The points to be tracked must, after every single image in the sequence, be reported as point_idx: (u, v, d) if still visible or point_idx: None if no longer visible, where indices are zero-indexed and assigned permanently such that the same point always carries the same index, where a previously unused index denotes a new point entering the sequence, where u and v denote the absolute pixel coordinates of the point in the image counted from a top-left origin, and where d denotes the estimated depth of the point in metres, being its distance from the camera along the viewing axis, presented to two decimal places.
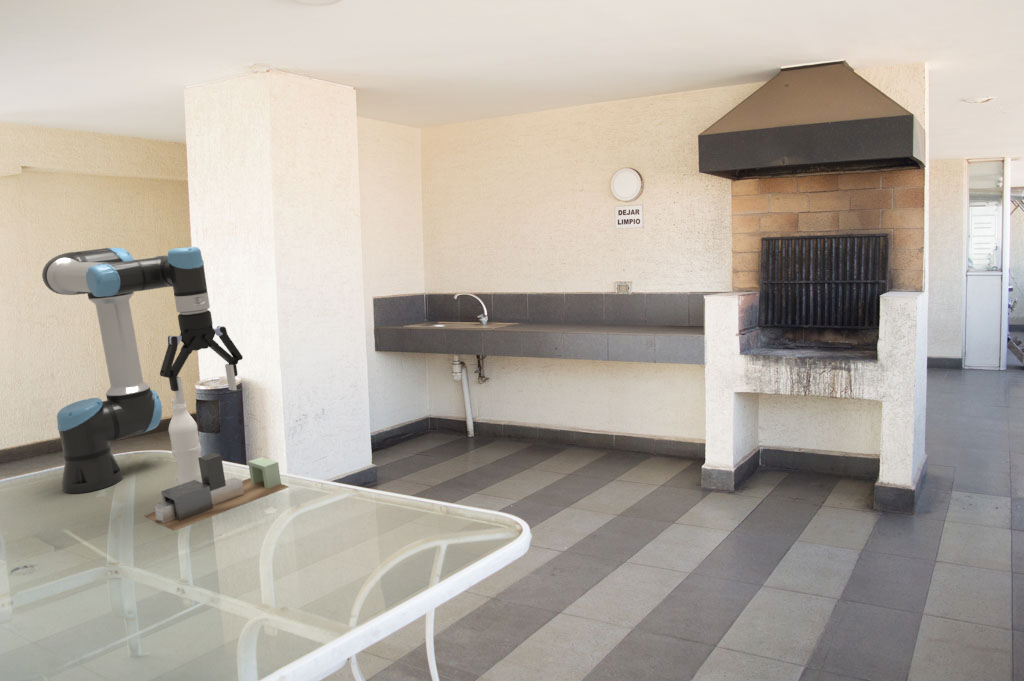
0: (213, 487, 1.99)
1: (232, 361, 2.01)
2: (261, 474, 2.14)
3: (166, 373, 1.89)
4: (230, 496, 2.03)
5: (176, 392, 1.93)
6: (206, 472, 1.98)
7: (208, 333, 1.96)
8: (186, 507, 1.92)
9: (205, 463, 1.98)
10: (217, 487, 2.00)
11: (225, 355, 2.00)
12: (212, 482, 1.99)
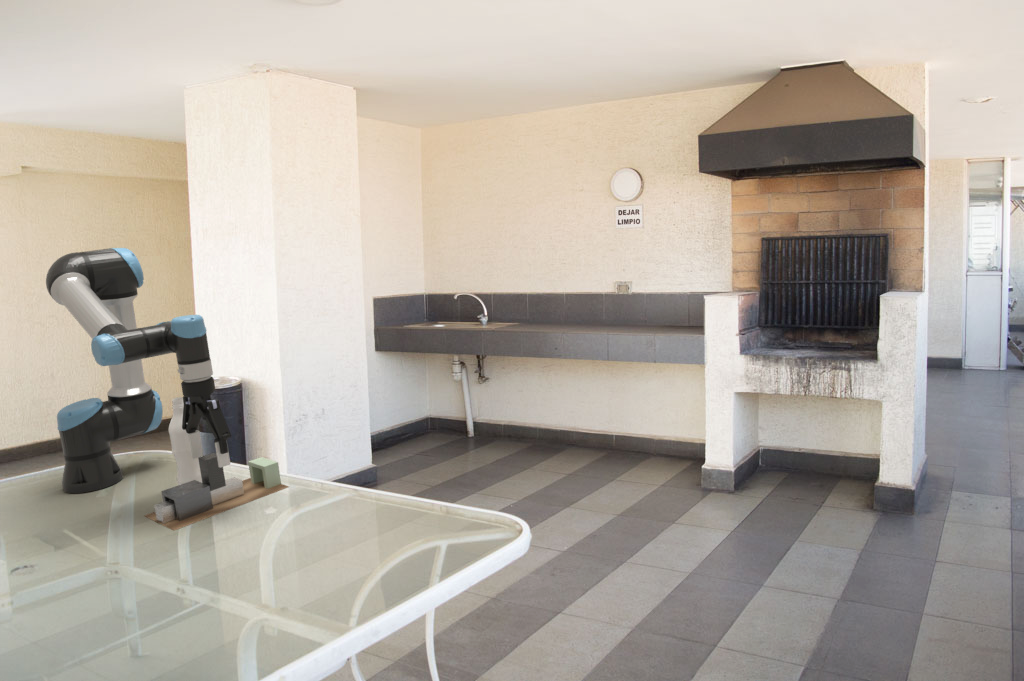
0: (213, 487, 1.99)
1: (216, 438, 1.93)
2: (261, 474, 2.14)
3: (182, 426, 2.04)
4: (230, 496, 2.03)
5: None
6: (206, 472, 1.98)
7: (201, 403, 1.95)
8: (186, 507, 1.92)
9: (205, 463, 1.98)
10: (217, 487, 2.00)
11: (211, 430, 1.94)
12: (212, 482, 1.99)
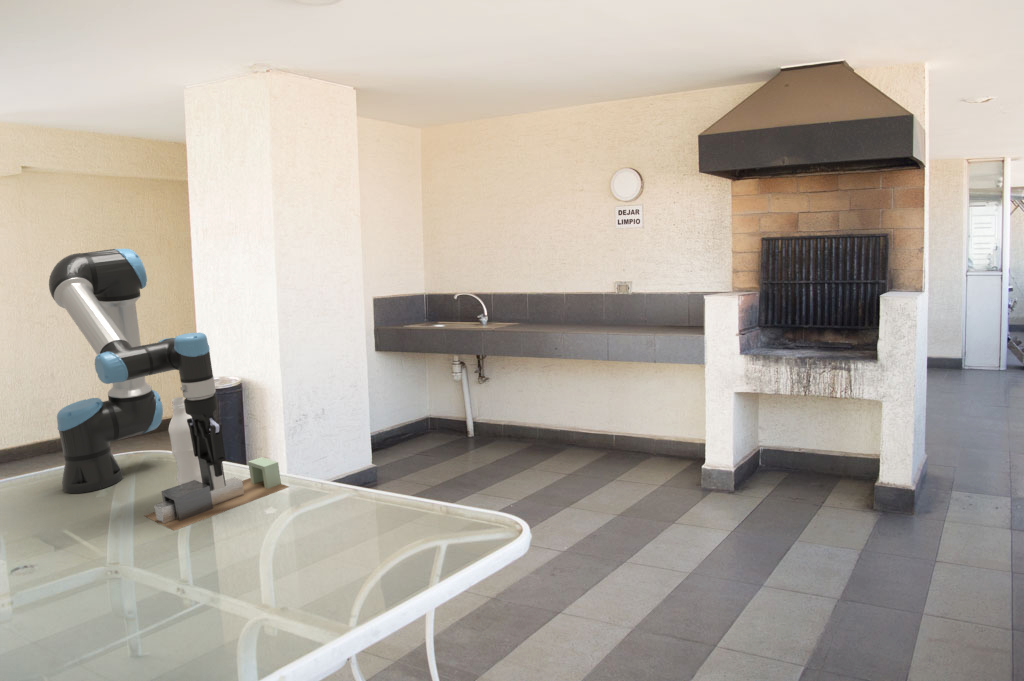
0: None
1: (211, 460, 1.97)
2: (261, 474, 2.14)
3: (194, 453, 2.03)
4: (230, 496, 2.03)
5: None
6: (206, 472, 1.98)
7: (203, 419, 1.96)
8: (186, 507, 1.92)
9: (205, 463, 1.98)
10: None
11: (208, 451, 1.97)
12: None
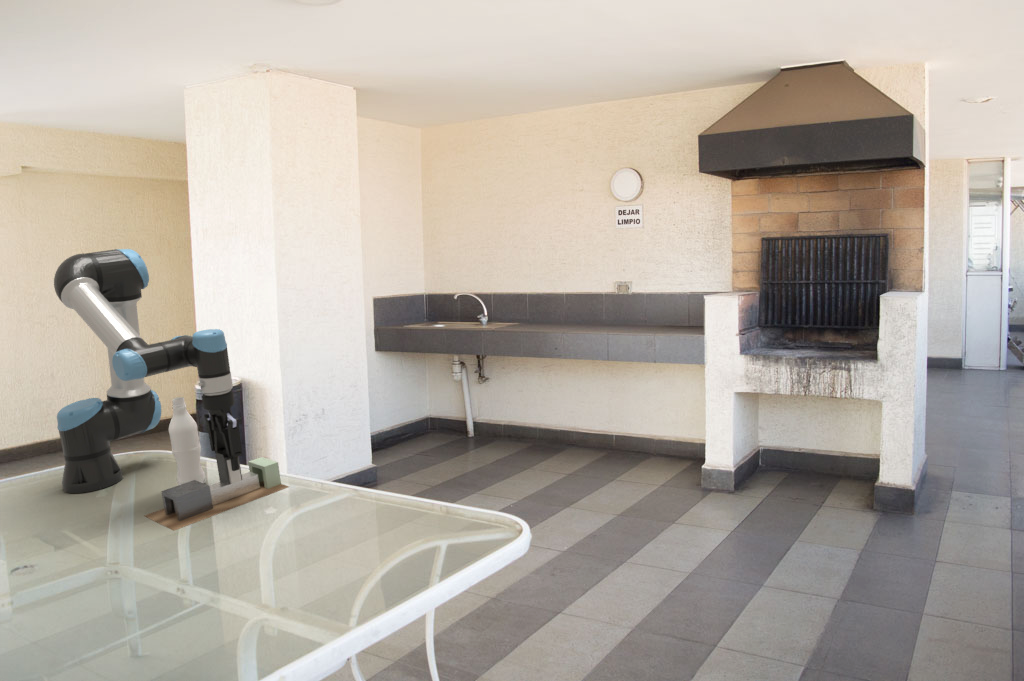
0: None
1: (228, 455, 2.00)
2: (261, 474, 2.14)
3: (211, 448, 2.06)
4: (246, 490, 2.06)
5: None
6: (223, 466, 2.02)
7: (221, 414, 1.99)
8: (186, 507, 1.92)
9: (222, 457, 2.01)
10: None
11: (225, 445, 2.00)
12: None
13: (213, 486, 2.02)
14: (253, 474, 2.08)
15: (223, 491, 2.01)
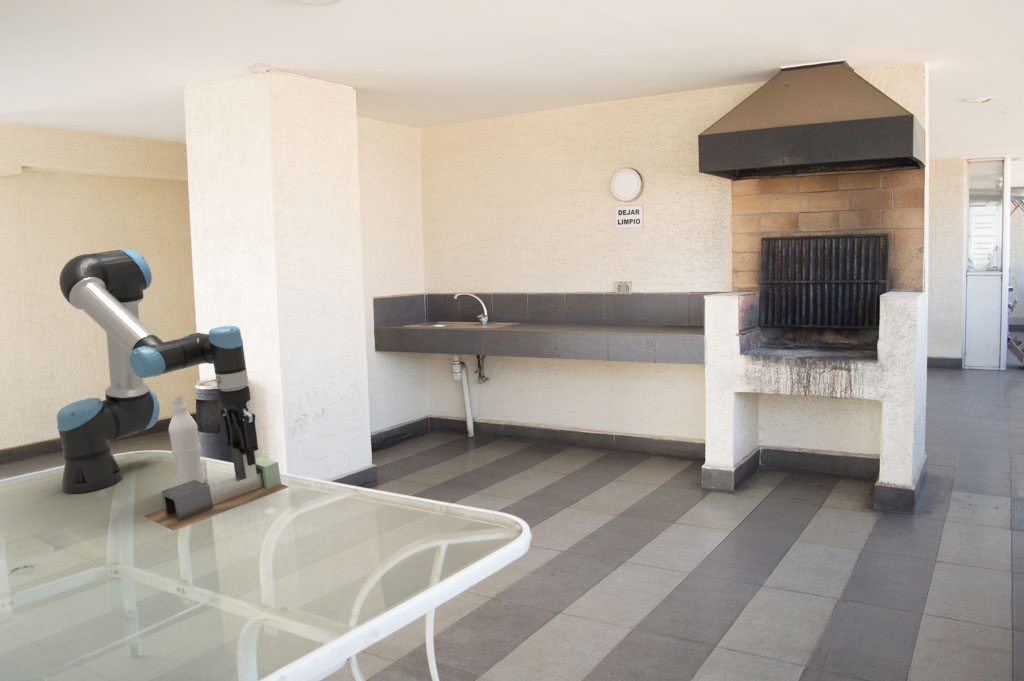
0: None
1: (244, 450, 2.04)
2: None
3: (227, 443, 2.09)
4: (261, 484, 2.09)
5: None
6: (239, 461, 2.05)
7: (237, 410, 2.02)
8: (186, 507, 1.92)
9: (238, 452, 2.04)
10: None
11: (241, 440, 2.03)
12: None
13: (229, 480, 2.05)
14: None
15: (239, 485, 2.05)
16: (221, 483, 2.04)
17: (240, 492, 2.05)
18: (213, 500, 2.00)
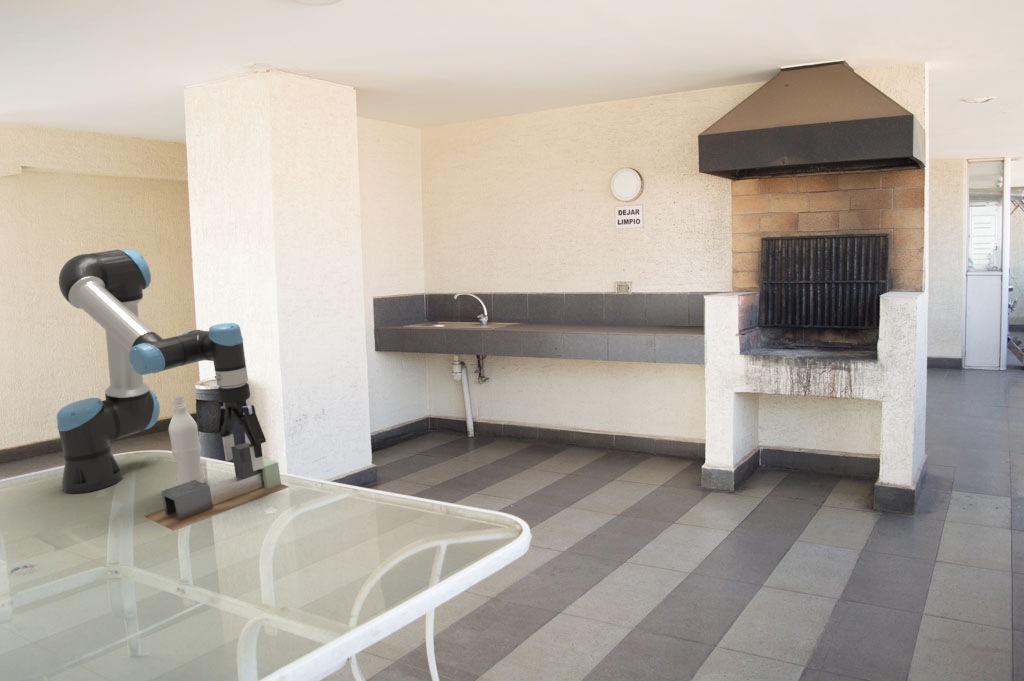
0: (246, 475, 2.06)
1: (251, 442, 2.00)
2: None
3: (217, 429, 2.11)
4: (262, 484, 2.09)
5: None
6: (239, 461, 2.05)
7: (236, 408, 2.02)
8: (186, 507, 1.92)
9: (238, 452, 2.04)
10: (249, 476, 2.06)
11: (246, 434, 2.01)
12: (245, 470, 2.05)
13: (229, 480, 2.05)
14: None
15: (239, 485, 2.05)
16: (221, 483, 2.04)
17: (240, 492, 2.05)
18: (213, 499, 2.00)
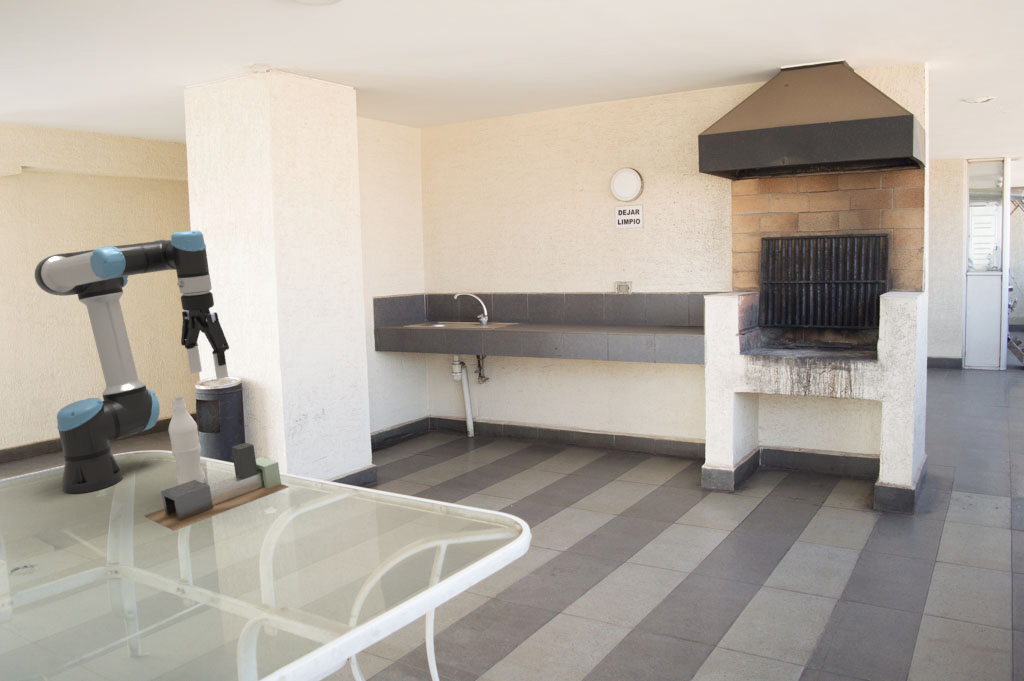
0: (246, 475, 2.06)
1: (214, 350, 1.99)
2: None
3: (181, 342, 2.10)
4: (262, 484, 2.09)
5: None
6: (239, 461, 2.05)
7: (199, 316, 2.00)
8: (186, 507, 1.92)
9: (238, 452, 2.04)
10: (249, 476, 2.06)
11: (210, 342, 1.99)
12: (245, 470, 2.05)
13: (229, 480, 2.05)
14: None
15: (239, 485, 2.05)
16: (221, 483, 2.04)
17: (240, 492, 2.05)
18: (213, 499, 2.00)
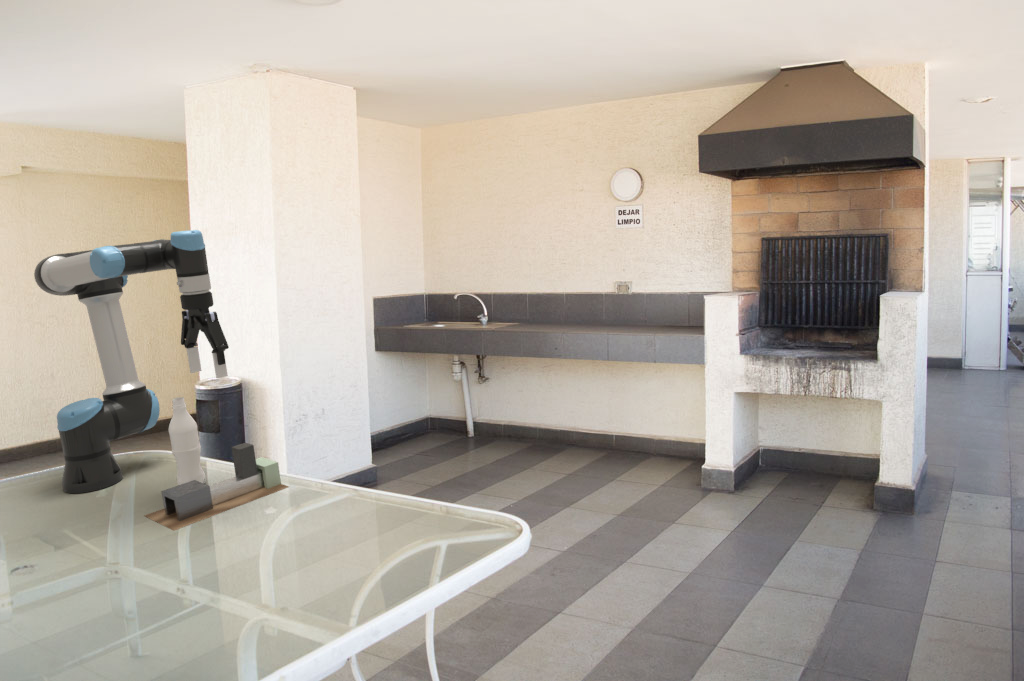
0: (246, 475, 2.06)
1: None
2: None
3: (181, 341, 2.10)
4: (262, 484, 2.09)
5: None
6: (239, 461, 2.05)
7: (199, 316, 2.00)
8: (186, 507, 1.92)
9: (238, 452, 2.04)
10: (249, 476, 2.06)
11: (209, 341, 1.99)
12: (245, 470, 2.05)
13: (229, 480, 2.05)
14: None
15: (239, 485, 2.05)
16: (221, 483, 2.04)
17: (240, 492, 2.05)
18: (213, 499, 2.00)
